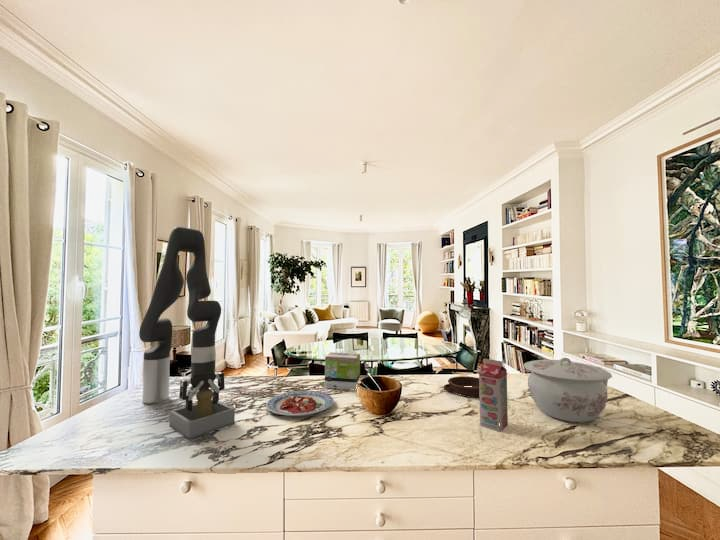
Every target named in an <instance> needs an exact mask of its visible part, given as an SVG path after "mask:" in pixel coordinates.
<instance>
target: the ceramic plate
mask: <svg viewBox="0 0 720 540" xmlns="http://www.w3.org/2000/svg"><path fill="white" fill-rule="evenodd" d="M333 404H334V398H333V397H332V396H331V395H330V394H327V393H324V392H322V391H316V390H295V391H288V392H285V393H280V394H278V395H275V396H273V397H271V398H270V399H268V401H266V404H265V407H266V409H267V410H268V411H270V412H271V413H274V414H276V415H281V416H287V417H288V416H290V417H291V416H292V417H293V416H294V417H295V416H306V415H307V416H308V415H313V414H316V413H320V412H323V411H325V410H327V409H329V408H330V407H331V406H332V405H333Z"/></svg>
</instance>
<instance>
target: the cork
mask: <svg viewBox="0 0 720 540" xmlns="http://www.w3.org/2000/svg"><path fill="white" fill-rule="evenodd" d="M213 392H214V391H213V390H212V389H211V388H209V389H203V390H201V391H199V390H198V392H197V393H196V394H195V395H196V396H195V398H196V400H197V402H198V403H197V409H196V416H195V420H197V419H200V418H203V417H206V416H209V415H213V411H212V403H211V399H213Z"/></svg>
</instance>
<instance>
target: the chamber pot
mask: <svg viewBox="0 0 720 540" xmlns="http://www.w3.org/2000/svg"><path fill="white" fill-rule="evenodd" d="M523 368H525V370H527V371H529V372H530V374H529V376H528V378H527V387H528V391H529V395H530V397H531V398H532V400H533V402H534V403H535V405H536V406H537V407H538V410H540V411H541V412H542V413H544V414H545V415H547V416H549V417H552V418H553V417H554V419H556V418H557V419H556V420H559V419H560V421H562V420H564V421H563V422H567V421H569V422H568V423H576V422H578V423H590V422H593V421H595V420H596V419H597V418H598V417H599V416H600V415H601V414H602V413H603V412H604V410H605V409H606V406H607V401H608V388H607V386H608V382H609V380H610V379H612V378H613V375H612V373H611V372H609V371H607V370H606V369H604V368H602V367H600V366H594V365H592V364H587V363H583V362H578V361H572V360H571V359H570V358H567V357H562V358H560V359H536V360H530V361H527V362H524V364H523Z"/></svg>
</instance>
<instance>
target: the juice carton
mask: <svg viewBox="0 0 720 540" xmlns="http://www.w3.org/2000/svg"><path fill="white" fill-rule="evenodd" d="M507 370H508V369H506V367H504V361H501V360H497V359H489V358H484V357H483V358H482V364H481V365H480V367H479V370H478V378H479V426H480V427H483V428H486V429H490V430H493V431H496V432H497V433H498V432H499V433H500V432H502V431H503V430H504V429H505V427H506V428H507V427H508V426H509V422H508V421H509V419H508V416H509V415H508V414H509V412H508V411H509V410H508V372H507ZM499 423H500V426H499Z"/></svg>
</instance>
